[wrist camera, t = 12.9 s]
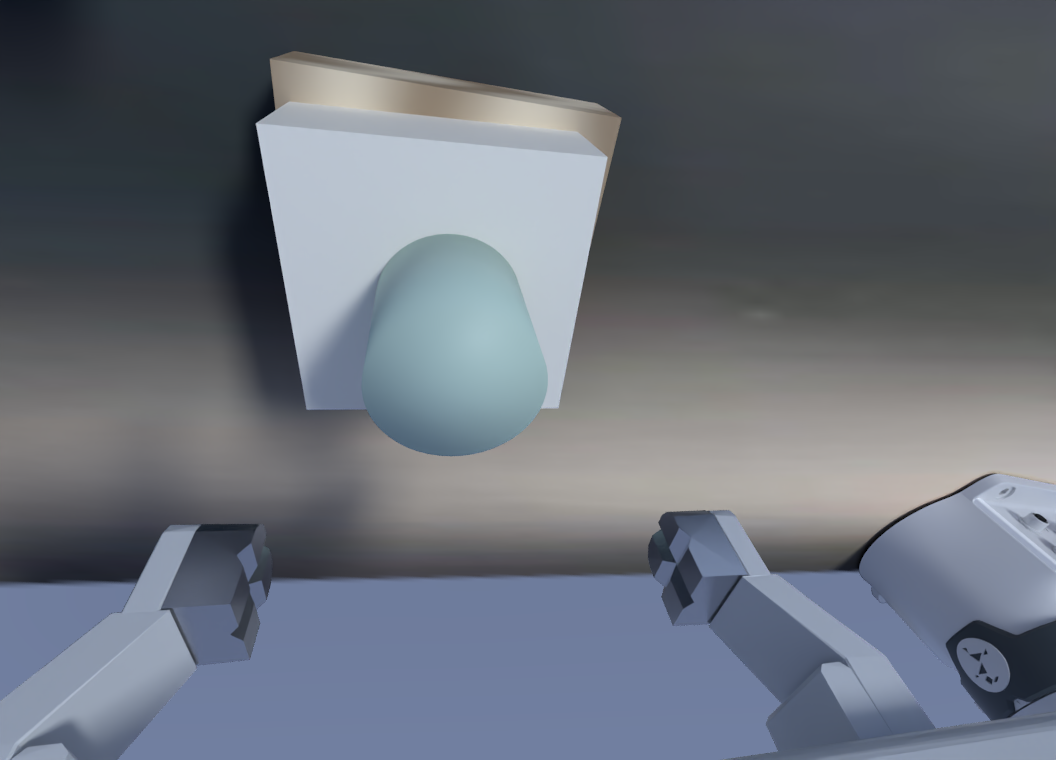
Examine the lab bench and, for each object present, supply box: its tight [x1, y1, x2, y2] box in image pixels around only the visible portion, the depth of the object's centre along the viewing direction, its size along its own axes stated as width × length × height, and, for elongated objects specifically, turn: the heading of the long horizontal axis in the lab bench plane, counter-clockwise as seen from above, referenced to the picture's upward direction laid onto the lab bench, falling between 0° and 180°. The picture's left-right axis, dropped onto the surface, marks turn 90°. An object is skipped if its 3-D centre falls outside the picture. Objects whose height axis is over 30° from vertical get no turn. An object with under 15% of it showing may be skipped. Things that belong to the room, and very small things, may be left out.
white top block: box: [256, 101, 608, 410], centre depth 19 cm, size 10×10×4 cm
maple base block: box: [270, 51, 621, 245], centre depth 22 cm, size 12×12×4 cm
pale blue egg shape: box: [361, 234, 548, 456], centre depth 16 cm, size 5×5×5 cm
